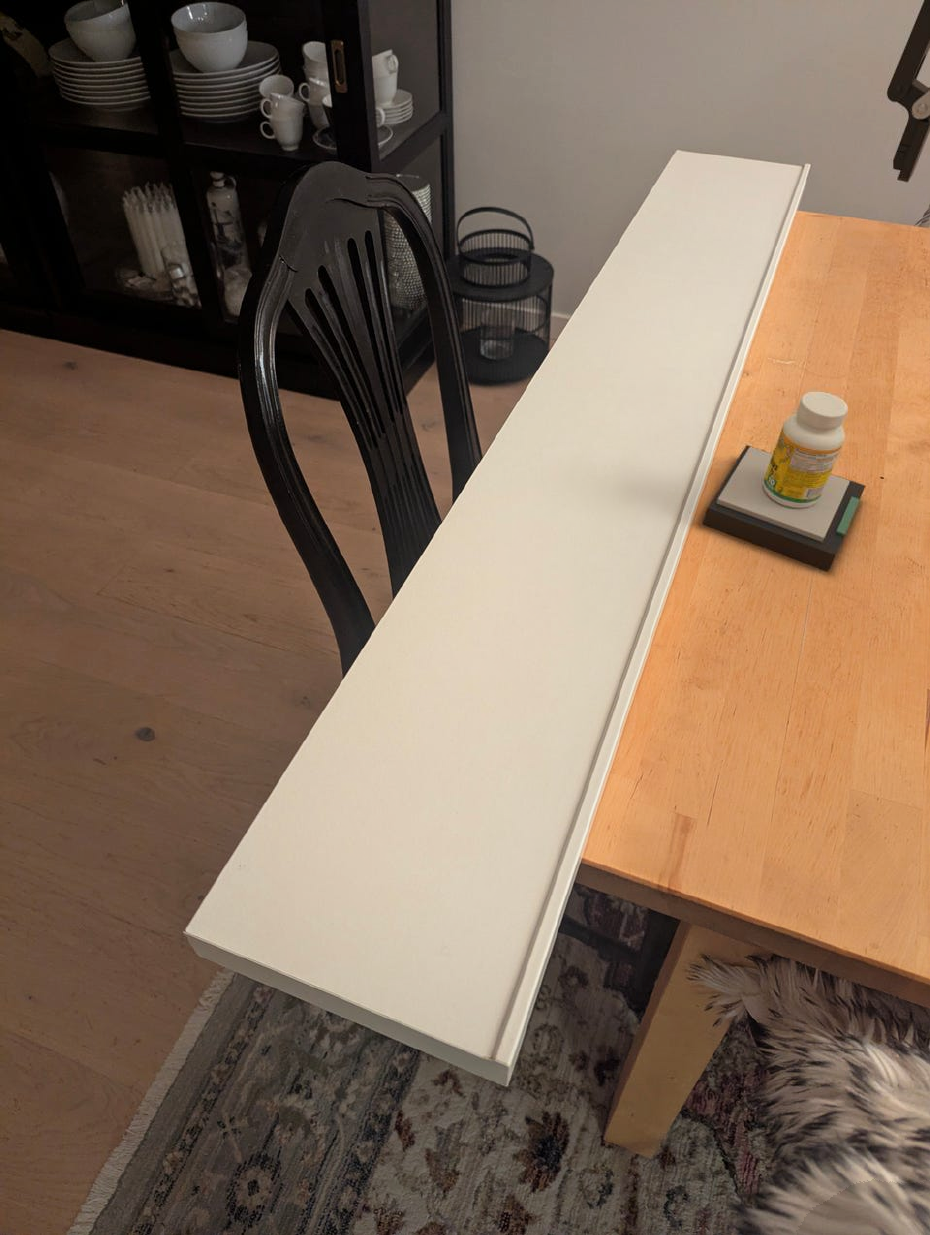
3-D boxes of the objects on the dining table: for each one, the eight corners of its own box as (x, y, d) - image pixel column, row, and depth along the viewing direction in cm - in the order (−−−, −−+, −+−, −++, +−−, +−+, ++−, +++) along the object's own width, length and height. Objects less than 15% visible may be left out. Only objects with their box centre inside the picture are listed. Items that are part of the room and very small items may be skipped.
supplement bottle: (815, 516, 81) (854, 427, 74) (757, 500, 82) (789, 411, 75) (821, 483, 85) (859, 395, 78) (765, 468, 86) (797, 381, 79)
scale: (858, 501, 87) (868, 480, 85) (828, 571, 80) (838, 550, 78) (741, 460, 91) (748, 439, 89) (702, 524, 83) (708, 502, 82)
